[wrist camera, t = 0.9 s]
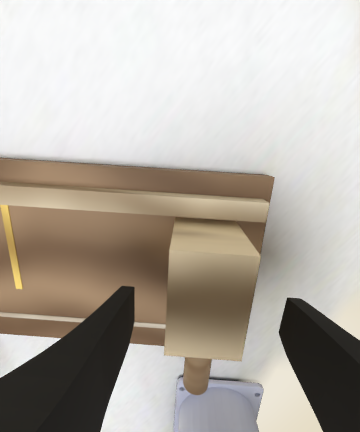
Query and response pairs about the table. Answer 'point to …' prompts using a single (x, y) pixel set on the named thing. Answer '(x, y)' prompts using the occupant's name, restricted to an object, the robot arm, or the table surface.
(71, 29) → the table surface
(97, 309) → the robot arm
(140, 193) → the walnut board
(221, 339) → the block
